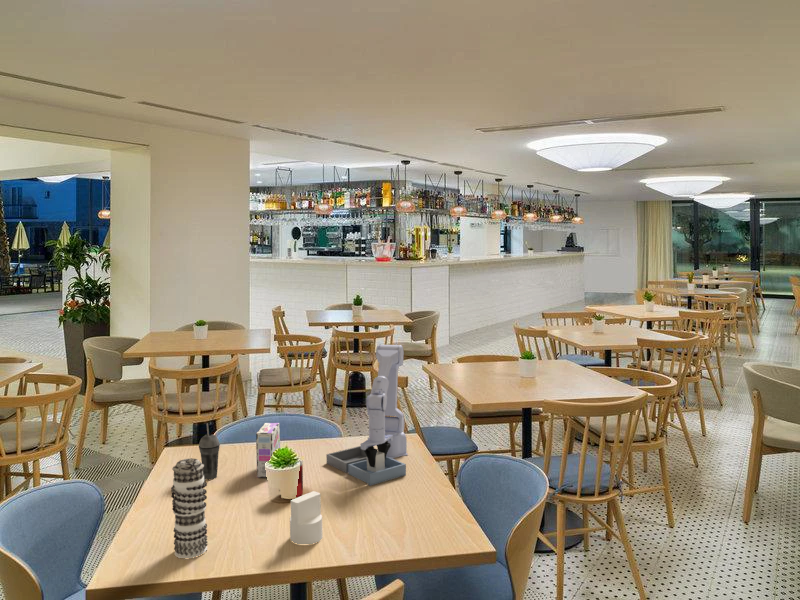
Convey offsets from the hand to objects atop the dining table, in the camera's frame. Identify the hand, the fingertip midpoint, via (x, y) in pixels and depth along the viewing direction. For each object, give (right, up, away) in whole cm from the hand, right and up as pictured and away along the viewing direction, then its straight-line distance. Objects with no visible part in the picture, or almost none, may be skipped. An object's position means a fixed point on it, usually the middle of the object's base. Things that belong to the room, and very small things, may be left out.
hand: (377, 464), depth 227 cm
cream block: (0, -2, 0) cm, 2 cm away
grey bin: (-9, -3, +12) cm, 15 cm away
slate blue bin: (0, -4, 0) cm, 4 cm away
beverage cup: (-60, -5, -1) cm, 60 cm away
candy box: (-40, -4, +5) cm, 40 cm away
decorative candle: (-48, -9, -56) cm, 74 cm away
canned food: (-28, -6, -18) cm, 33 cm away
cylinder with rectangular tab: (-18, -8, -48) cm, 52 cm away
